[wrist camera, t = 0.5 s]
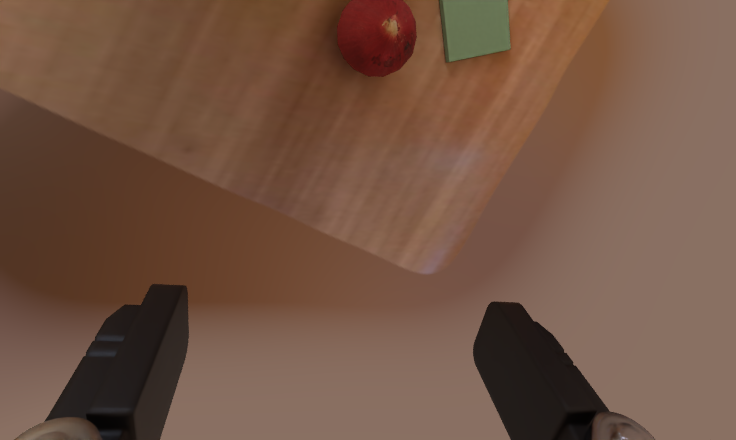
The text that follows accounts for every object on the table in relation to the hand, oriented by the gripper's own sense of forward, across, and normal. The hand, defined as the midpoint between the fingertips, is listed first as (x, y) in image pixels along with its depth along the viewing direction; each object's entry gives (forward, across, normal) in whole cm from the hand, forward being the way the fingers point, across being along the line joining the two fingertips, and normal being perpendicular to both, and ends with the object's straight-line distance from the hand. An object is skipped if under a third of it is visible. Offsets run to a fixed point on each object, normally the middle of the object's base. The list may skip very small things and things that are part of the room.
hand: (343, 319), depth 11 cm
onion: (+28, -4, -5) cm, 29 cm away
